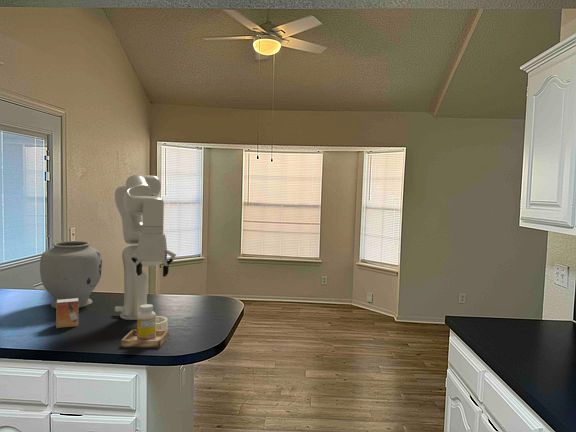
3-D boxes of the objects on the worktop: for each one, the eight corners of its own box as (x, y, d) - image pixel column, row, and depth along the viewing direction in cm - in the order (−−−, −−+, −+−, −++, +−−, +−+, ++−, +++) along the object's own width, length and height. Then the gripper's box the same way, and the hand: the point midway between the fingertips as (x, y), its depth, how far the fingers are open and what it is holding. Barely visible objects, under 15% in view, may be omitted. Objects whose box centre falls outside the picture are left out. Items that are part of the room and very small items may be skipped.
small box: (56, 328, 168) (56, 302, 168) (56, 324, 173) (56, 299, 173) (78, 326, 172) (78, 300, 171) (78, 322, 177) (78, 297, 176)
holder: (134, 334, 164) (134, 324, 164) (143, 325, 175) (143, 315, 175) (163, 334, 164) (163, 324, 164) (170, 325, 175) (170, 316, 175)
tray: (120, 346, 151) (120, 340, 150) (132, 335, 163) (132, 329, 162) (160, 347, 151) (160, 340, 151) (168, 336, 163) (168, 330, 163)
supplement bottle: (139, 336, 160) (139, 303, 159) (157, 336, 160) (157, 303, 160) (134, 342, 153) (134, 308, 153) (153, 342, 154) (153, 308, 153)
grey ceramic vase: (113, 303, 207) (113, 242, 205) (59, 315, 185) (59, 248, 183) (81, 295, 221) (81, 238, 220) (28, 305, 199) (28, 242, 197)
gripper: (126, 230, 154) (125, 276, 155) (173, 232, 154) (172, 278, 155) (133, 228, 161) (133, 272, 163) (178, 230, 162) (177, 274, 163)
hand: (152, 275), depth 159 cm, fingers open, 9 cm apart
